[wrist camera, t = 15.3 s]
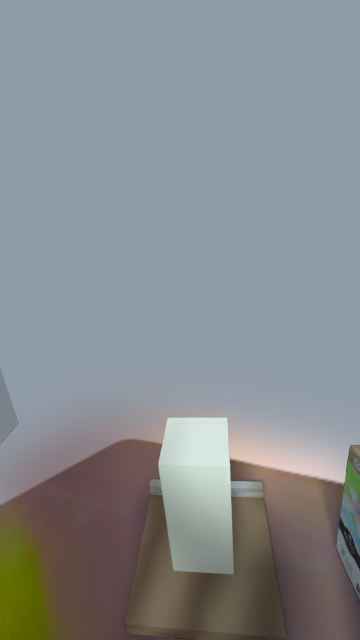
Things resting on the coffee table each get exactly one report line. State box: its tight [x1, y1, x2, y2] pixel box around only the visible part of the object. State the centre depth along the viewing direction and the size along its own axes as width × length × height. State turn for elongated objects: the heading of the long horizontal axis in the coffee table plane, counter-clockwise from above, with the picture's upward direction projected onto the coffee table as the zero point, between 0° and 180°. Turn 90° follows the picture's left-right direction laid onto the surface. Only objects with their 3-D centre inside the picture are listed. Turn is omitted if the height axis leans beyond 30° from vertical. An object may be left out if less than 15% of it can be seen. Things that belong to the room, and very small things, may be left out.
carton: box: [158, 418, 234, 574], centre depth 31 cm, size 6×6×14 cm
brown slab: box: [124, 479, 287, 640], centre depth 33 cm, size 14×14×3 cm
